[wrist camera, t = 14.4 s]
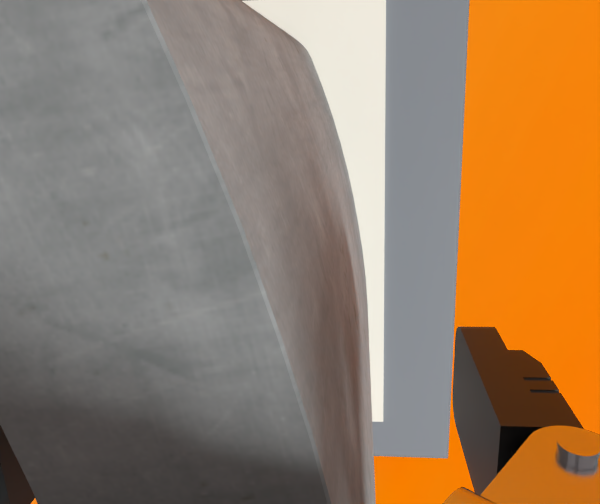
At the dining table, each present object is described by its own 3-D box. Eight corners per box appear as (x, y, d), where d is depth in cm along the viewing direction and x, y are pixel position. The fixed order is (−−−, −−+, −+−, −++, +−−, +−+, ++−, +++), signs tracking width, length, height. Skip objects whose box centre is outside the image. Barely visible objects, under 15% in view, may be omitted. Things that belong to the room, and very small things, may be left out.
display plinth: (169, -35, 23) (141, -53, 20) (457, -54, 22) (474, -76, 19) (212, 414, 30) (196, 452, 27) (438, 420, 28) (448, 460, 25)
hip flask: (225, 42, 21) (-1031, -350, 2) (330, 19, 20) (-62, -855, 1) (303, 403, 25) (135, 1368, 6) (391, 393, 25) (500, 1428, 6)
